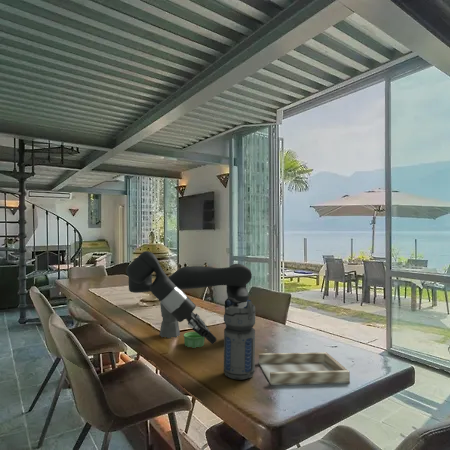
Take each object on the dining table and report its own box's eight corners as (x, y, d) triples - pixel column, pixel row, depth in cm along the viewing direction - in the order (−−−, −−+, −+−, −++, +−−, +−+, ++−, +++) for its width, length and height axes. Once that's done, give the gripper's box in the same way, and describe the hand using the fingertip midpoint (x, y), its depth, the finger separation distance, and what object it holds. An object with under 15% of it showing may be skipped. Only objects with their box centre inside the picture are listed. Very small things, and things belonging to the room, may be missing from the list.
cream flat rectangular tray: (270, 385, 106) (271, 373, 106) (258, 363, 124) (258, 353, 124) (349, 383, 109) (349, 371, 109) (326, 361, 127) (326, 352, 127)
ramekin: (188, 341, 150) (188, 330, 150) (208, 343, 147) (208, 332, 147) (179, 347, 141) (180, 336, 141) (200, 349, 139) (200, 338, 139)
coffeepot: (152, 334, 158) (153, 294, 159) (168, 330, 165) (169, 292, 166) (174, 341, 148) (175, 299, 149) (190, 337, 155) (191, 296, 156)
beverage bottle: (236, 364, 122) (238, 293, 123) (262, 377, 112) (263, 299, 113) (213, 371, 116) (214, 296, 117) (237, 384, 106) (239, 302, 107)
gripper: (170, 307, 119) (205, 343, 119) (168, 316, 105) (207, 357, 106) (186, 292, 119) (221, 328, 120) (186, 299, 106) (225, 339, 107)
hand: (214, 341), depth 113 cm, fingers closed
